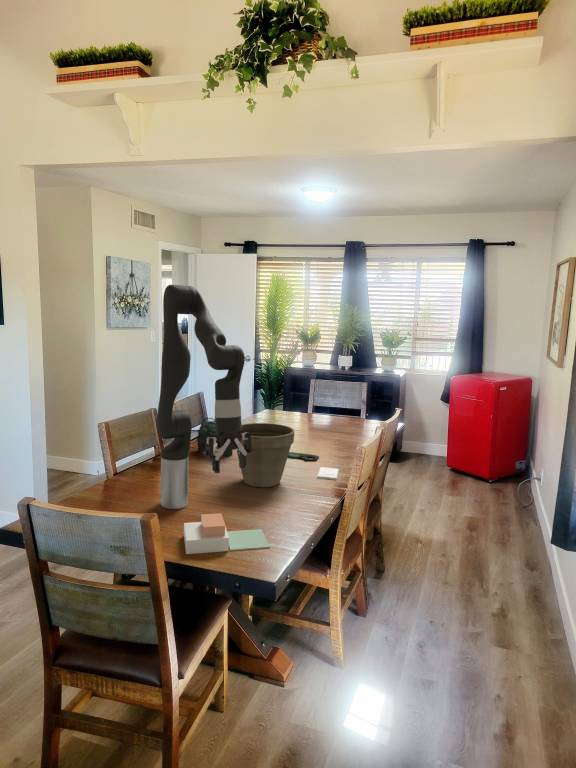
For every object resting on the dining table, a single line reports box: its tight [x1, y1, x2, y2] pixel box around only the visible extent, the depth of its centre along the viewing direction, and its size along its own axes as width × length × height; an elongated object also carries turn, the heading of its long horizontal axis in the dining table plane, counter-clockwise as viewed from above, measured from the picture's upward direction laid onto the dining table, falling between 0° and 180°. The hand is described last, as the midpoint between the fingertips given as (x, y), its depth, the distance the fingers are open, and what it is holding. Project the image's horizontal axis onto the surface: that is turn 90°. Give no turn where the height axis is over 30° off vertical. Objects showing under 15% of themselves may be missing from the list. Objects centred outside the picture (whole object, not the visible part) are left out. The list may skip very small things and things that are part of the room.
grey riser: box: [183, 521, 230, 555], centre depth 150 cm, size 12×12×4 cm
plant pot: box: [236, 422, 295, 488], centre depth 204 cm, size 25×25×22 cm
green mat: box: [227, 528, 270, 552], centre depth 154 cm, size 12×12×1 cm
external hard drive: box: [316, 466, 340, 481], centre depth 218 cm, size 2×8×12 cm
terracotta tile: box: [200, 512, 226, 537], centre depth 150 cm, size 9×6×3 cm, turn 14°
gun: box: [287, 451, 320, 462], centre depth 241 cm, size 16×1×10 cm
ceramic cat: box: [196, 417, 233, 458], centre depth 240 cm, size 20×6×20 cm, turn 62°
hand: (229, 470), depth 148 cm, fingers open, 8 cm apart
